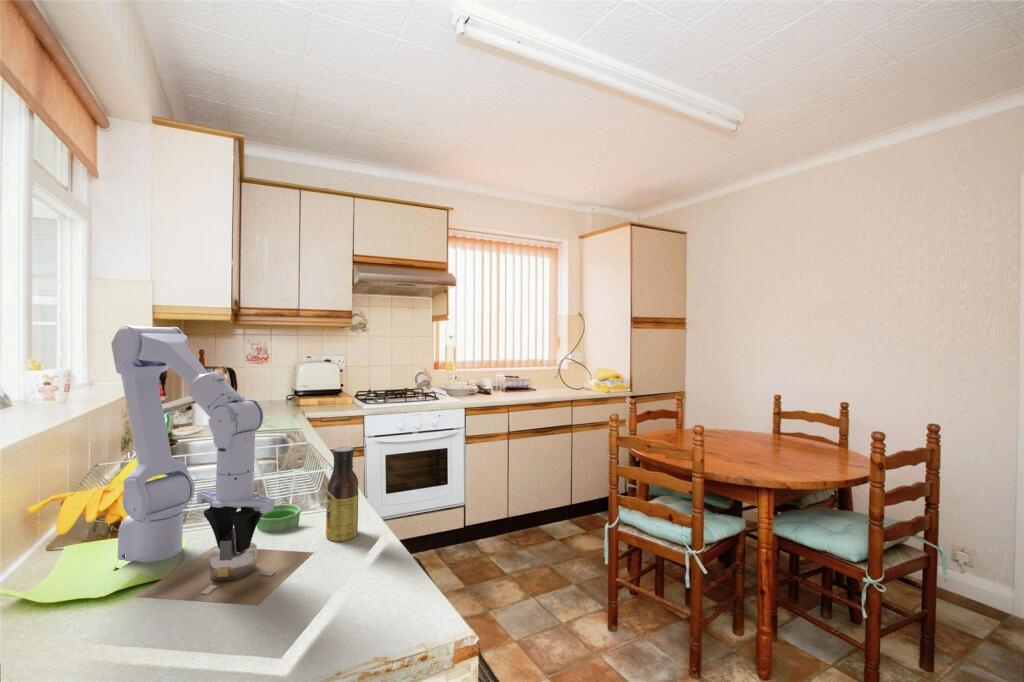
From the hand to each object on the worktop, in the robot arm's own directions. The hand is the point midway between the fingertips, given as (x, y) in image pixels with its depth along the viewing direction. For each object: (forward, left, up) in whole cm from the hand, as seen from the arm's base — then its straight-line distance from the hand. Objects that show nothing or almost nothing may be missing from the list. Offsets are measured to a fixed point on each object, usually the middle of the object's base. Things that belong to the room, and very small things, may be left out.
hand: (233, 548), depth 83 cm
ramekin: (-4, +21, -6) cm, 22 cm away
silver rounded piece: (0, 0, -4) cm, 4 cm away
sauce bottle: (+12, +17, -6) cm, 22 cm away
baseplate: (0, 0, -6) cm, 6 cm away
